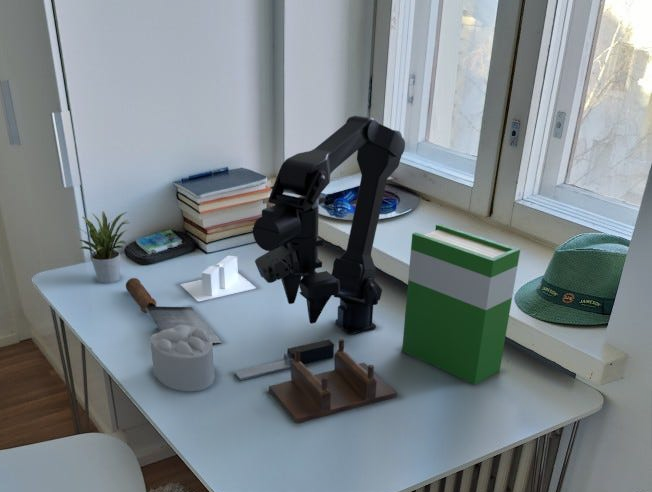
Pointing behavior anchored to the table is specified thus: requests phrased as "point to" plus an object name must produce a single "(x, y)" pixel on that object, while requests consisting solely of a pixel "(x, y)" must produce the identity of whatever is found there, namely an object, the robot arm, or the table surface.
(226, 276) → the napkin holder
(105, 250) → the house plant
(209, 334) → the meat cleaver
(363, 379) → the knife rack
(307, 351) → the kitchen knife
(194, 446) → the table surface
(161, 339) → the lumpy-topped squat cylinder
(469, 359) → the hardback book
